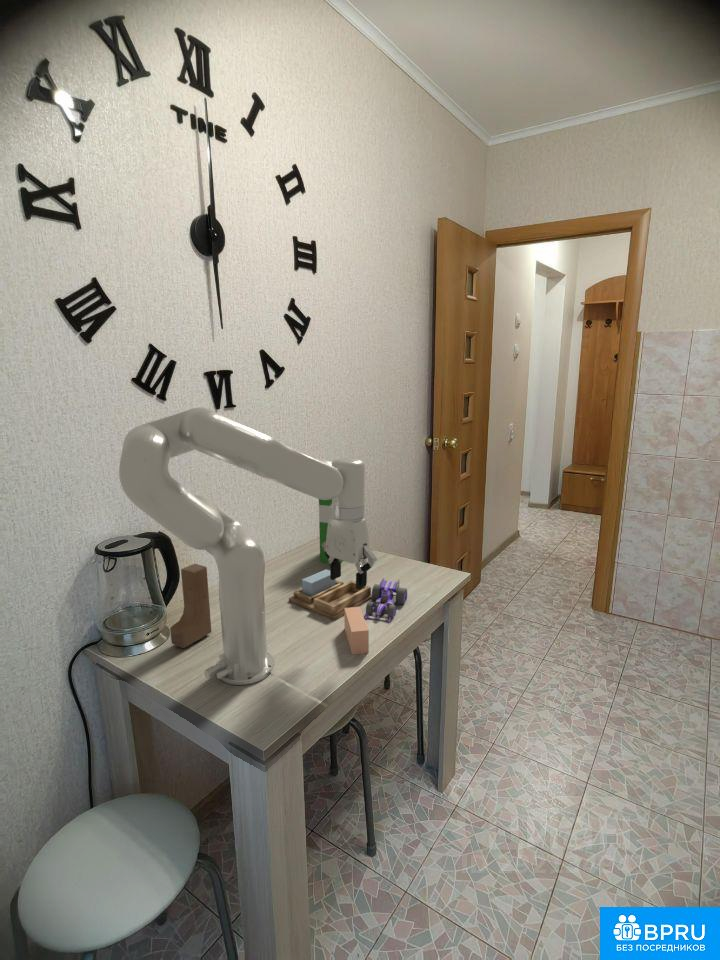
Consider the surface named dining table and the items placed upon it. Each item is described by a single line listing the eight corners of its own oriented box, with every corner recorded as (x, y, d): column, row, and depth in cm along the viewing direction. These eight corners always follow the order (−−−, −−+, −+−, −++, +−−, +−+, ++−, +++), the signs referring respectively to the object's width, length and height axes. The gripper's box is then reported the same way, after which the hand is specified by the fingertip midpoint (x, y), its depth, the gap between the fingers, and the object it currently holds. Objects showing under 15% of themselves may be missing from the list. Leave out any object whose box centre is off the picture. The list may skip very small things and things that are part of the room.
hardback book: (338, 546, 187) (338, 485, 182) (357, 548, 185) (356, 486, 179) (320, 563, 171) (318, 496, 165) (340, 565, 168) (339, 498, 163)
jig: (334, 620, 131) (334, 608, 130) (288, 601, 142) (288, 589, 142) (373, 598, 144) (373, 587, 143) (328, 582, 155) (328, 571, 154)
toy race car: (360, 620, 132) (360, 597, 131) (376, 596, 146) (376, 576, 145) (394, 625, 129) (394, 603, 128) (407, 601, 143) (407, 580, 142)
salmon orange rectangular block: (368, 653, 116) (368, 630, 115) (351, 655, 115) (351, 631, 114) (359, 627, 128) (359, 606, 126) (344, 629, 127) (344, 608, 126)
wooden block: (183, 649, 118) (177, 579, 114) (170, 643, 120) (164, 575, 116) (212, 632, 125) (207, 566, 121) (200, 627, 128) (194, 562, 124)
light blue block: (311, 599, 141) (311, 583, 140) (302, 595, 144) (301, 579, 143) (335, 588, 149) (335, 572, 147) (326, 584, 151) (326, 569, 150)
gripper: (310, 508, 117) (311, 577, 121) (367, 522, 106) (366, 598, 110) (331, 502, 123) (332, 568, 126) (387, 515, 112) (386, 587, 115)
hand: (348, 582), depth 118 cm, fingers open, 7 cm apart
